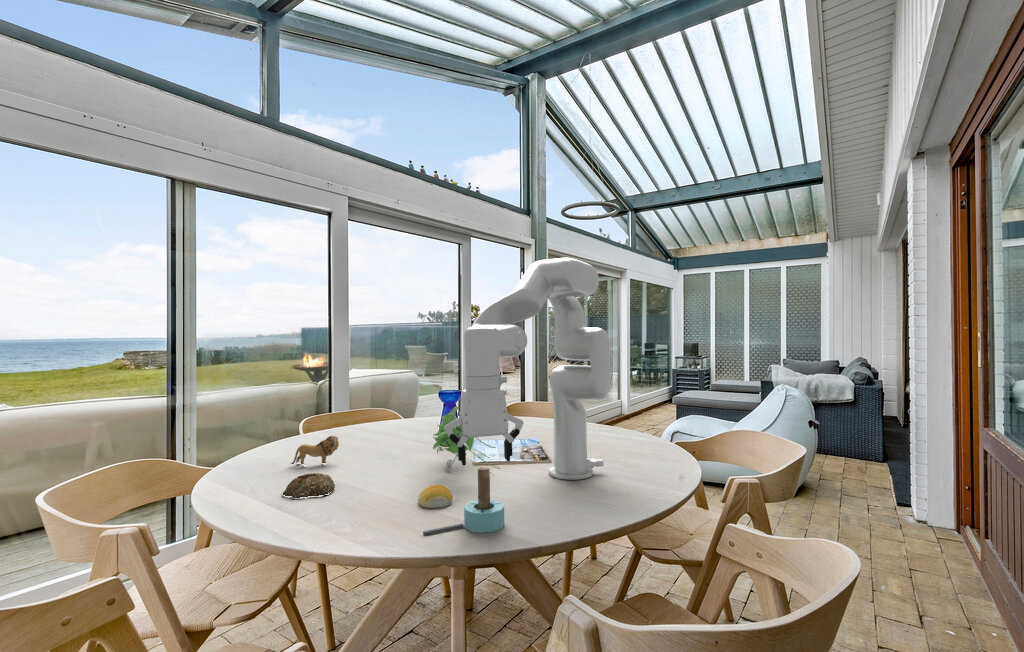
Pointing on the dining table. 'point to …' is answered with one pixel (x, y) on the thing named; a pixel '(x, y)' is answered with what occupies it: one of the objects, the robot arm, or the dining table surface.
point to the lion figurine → (317, 449)
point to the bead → (484, 517)
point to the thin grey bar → (443, 529)
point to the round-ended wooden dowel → (483, 488)
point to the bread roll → (435, 496)
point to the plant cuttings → (453, 447)
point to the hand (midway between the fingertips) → (485, 461)
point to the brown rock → (310, 485)
